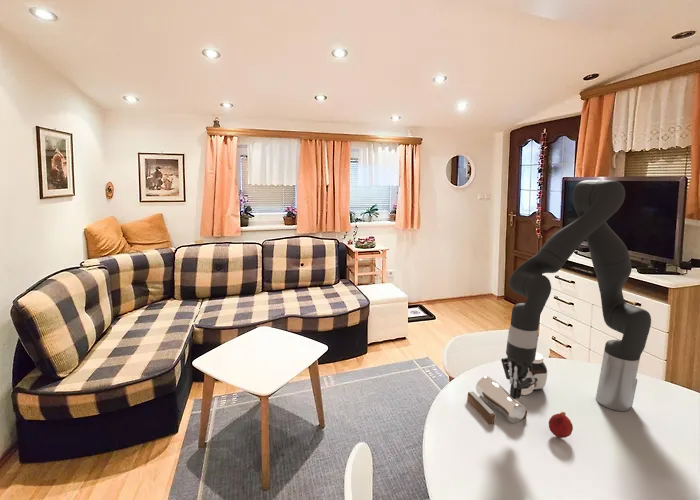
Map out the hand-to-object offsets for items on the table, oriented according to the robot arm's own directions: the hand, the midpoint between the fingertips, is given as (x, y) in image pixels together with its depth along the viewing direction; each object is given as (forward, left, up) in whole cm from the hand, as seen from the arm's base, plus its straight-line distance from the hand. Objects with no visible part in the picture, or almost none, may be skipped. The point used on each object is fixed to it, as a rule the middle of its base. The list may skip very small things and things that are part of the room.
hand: (514, 397), depth 110 cm
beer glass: (-2, 0, -6) cm, 6 cm away
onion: (-10, +7, -9) cm, 15 cm away
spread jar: (-18, -16, -9) cm, 26 cm away
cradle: (0, -8, -9) cm, 12 cm away
